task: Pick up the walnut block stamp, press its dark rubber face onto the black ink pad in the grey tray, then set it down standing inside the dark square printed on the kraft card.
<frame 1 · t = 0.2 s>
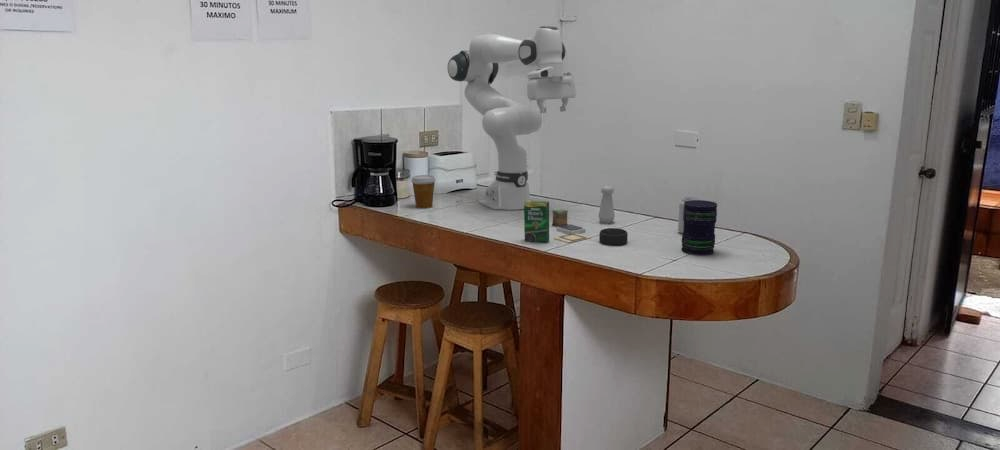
hand: (553, 112, 254), 39 cm above the breakfast bar, tool pointing down, fingers open, 8 cm apart
coffee box: (536, 241, 230), on the breakfast bar
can: (689, 233, 240), on the breakfast bar
smart speaker: (613, 243, 228), on the breakfast bar
target card: (572, 238, 233), on the breakfast bar
ink pad: (570, 231, 243), on the breakfast bar
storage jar: (697, 251, 218), on the breakfast bar
stamp: (559, 225, 251), on the breakfast bar
salt shaker: (606, 222, 255), on the breakfast bar
disposable coffee cup: (424, 207, 282), on the breakfast bar
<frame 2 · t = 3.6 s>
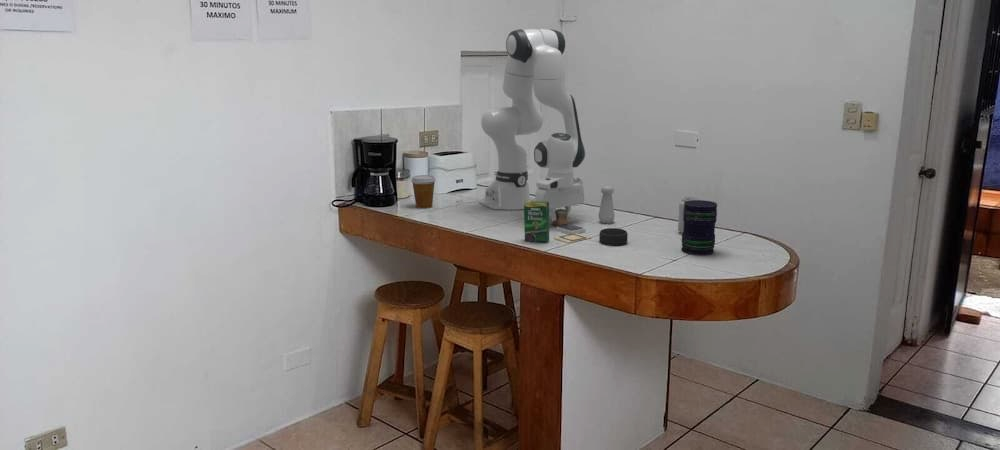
hand: (559, 219, 251), 2 cm above the breakfast bar, tool pointing down, fingers closed on stamp, 4 cm apart
stamp: (559, 225, 251), on the breakfast bar, touching gripper
everything else where it was.
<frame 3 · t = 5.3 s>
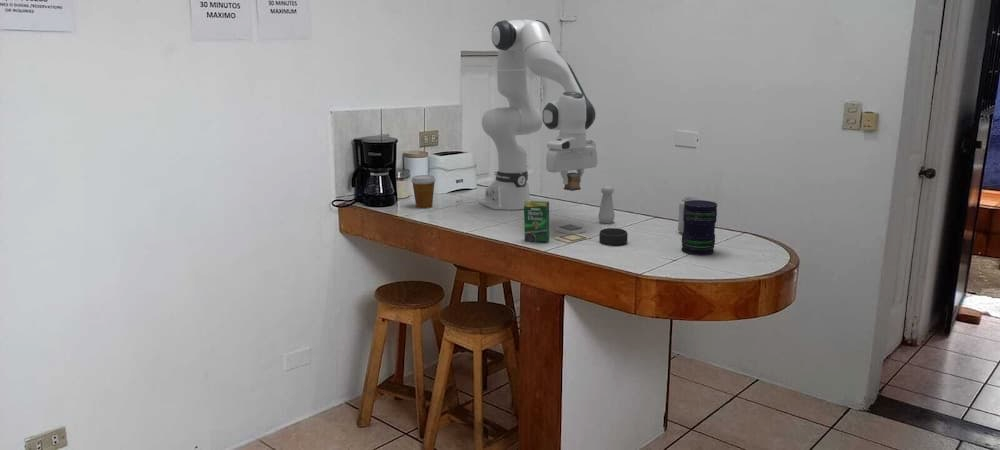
hand: (572, 183, 238), 17 cm above the breakfast bar, tool pointing down, fingers closed on stamp, 4 cm apart
stamp: (572, 189, 239), point 15 cm above the breakfast bar, touching gripper
everything else where it was.
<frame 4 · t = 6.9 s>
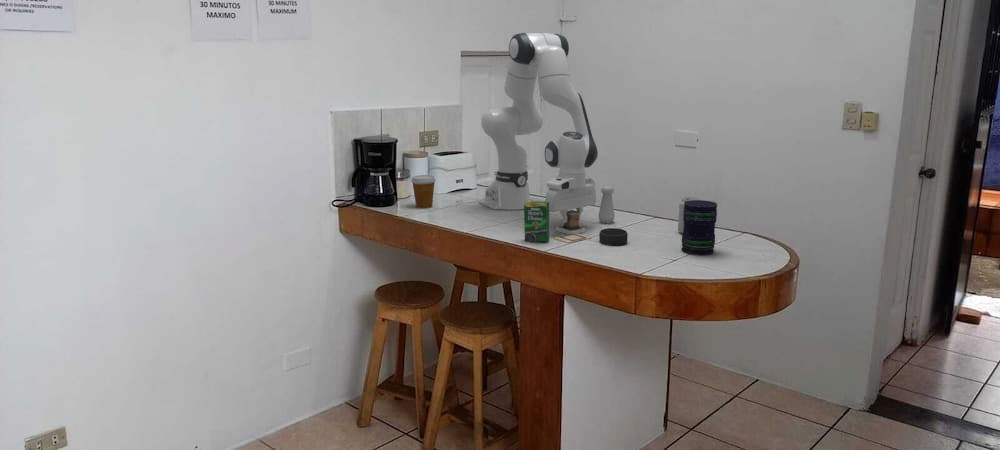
hand: (571, 221, 242), 4 cm above the breakfast bar, tool pointing down, fingers closed on stamp, 4 cm apart
stamp: (571, 227, 242), point 1 cm above the breakfast bar, touching gripper, ink pad
everything else where it was.
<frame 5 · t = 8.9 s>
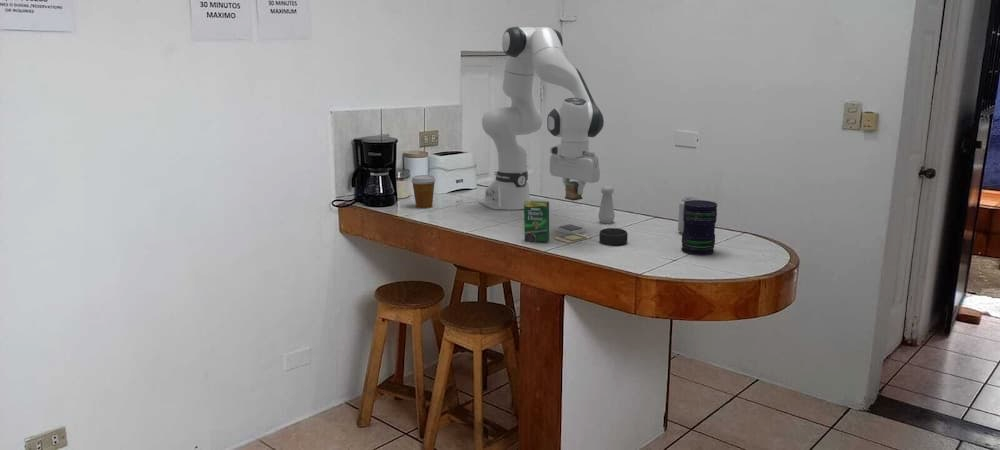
hand: (573, 192, 229), 15 cm above the breakfast bar, tool pointing down, fingers closed on stamp, 4 cm apart
stamp: (573, 198, 230), point 13 cm above the breakfast bar, touching gripper
everything else where it was.
when the fingers open (3 cm above the breakfast bar, at t = 10.5 s): stamp drops 1 cm, resting on target card.
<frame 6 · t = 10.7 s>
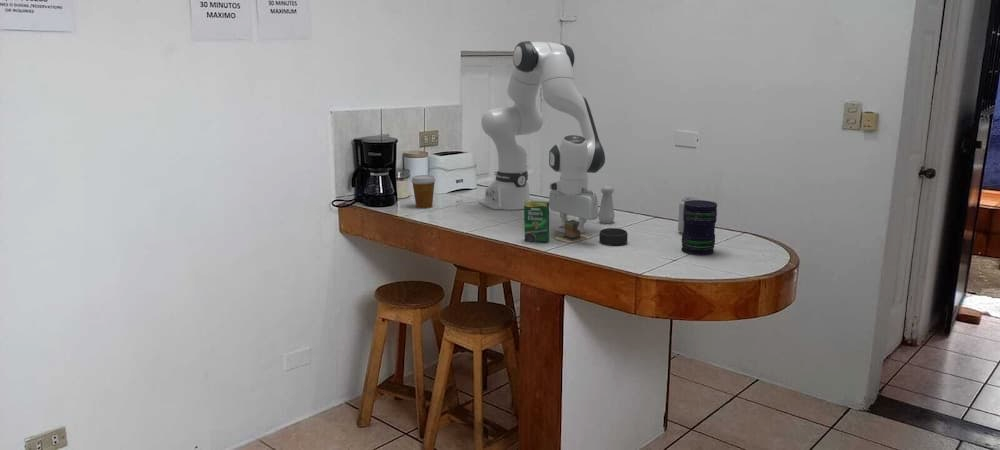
hand: (572, 228, 232), 3 cm above the breakfast bar, tool pointing down, fingers open, 5 cm apart
stamp: (572, 237, 233), resting on target card
everything else where it was.
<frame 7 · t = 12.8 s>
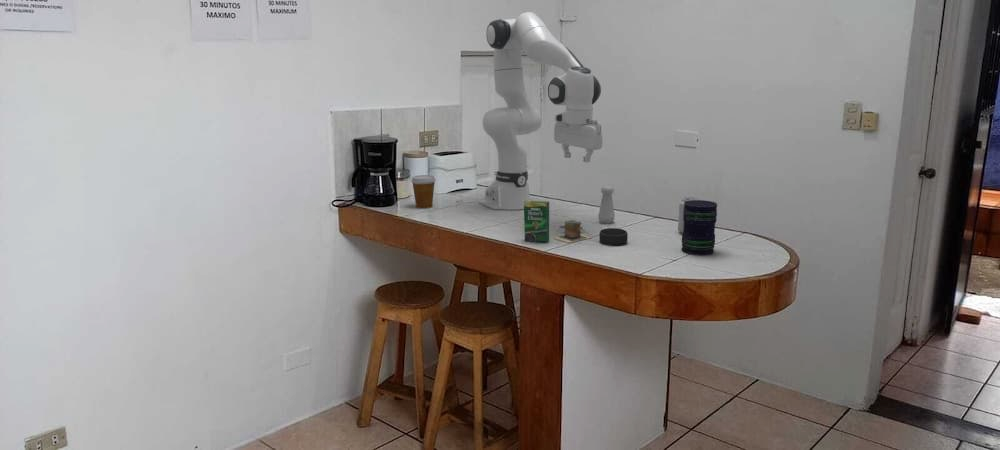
hand: (576, 159, 236), 25 cm above the breakfast bar, tool pointing down, fingers open, 8 cm apart
nothing on the breakfast bar moved.
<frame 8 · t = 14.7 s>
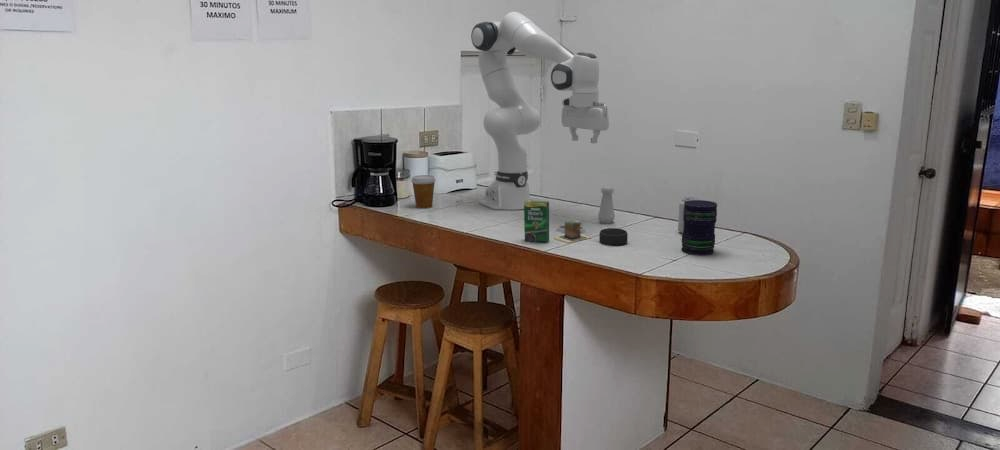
hand: (584, 141, 247), 29 cm above the breakfast bar, tool pointing down, fingers open, 8 cm apart
nothing on the breakfast bar moved.
at the end: stamp 0.1 cm off-centre on the target card, point 0.3 cm above the target card's base; stamp tilted 0°; the gripper is holding nothing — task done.
